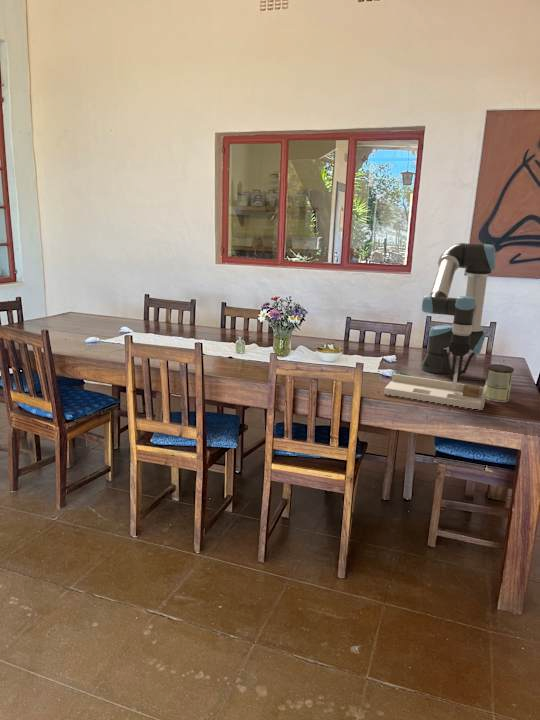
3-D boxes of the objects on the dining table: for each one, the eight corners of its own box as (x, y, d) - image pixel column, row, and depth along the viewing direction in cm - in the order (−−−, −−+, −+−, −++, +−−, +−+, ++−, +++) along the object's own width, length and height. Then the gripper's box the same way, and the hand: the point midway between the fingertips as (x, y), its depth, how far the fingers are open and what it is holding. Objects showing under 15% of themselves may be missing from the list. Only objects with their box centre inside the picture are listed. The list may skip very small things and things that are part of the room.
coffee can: (479, 394, 232) (483, 363, 228) (502, 395, 232) (506, 364, 229) (489, 402, 222) (494, 370, 218) (513, 402, 222) (518, 370, 219)
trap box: (391, 386, 239) (393, 371, 237) (485, 401, 223) (487, 385, 221) (384, 394, 226) (385, 379, 224) (482, 411, 210) (485, 394, 208)
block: (463, 392, 223) (464, 383, 222) (478, 395, 221) (479, 385, 220) (462, 395, 219) (463, 386, 218) (477, 398, 216) (479, 388, 215)
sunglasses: (393, 377, 254) (395, 368, 253) (424, 386, 248) (426, 376, 246) (386, 384, 242) (388, 374, 240) (418, 393, 236) (420, 383, 234)
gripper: (443, 333, 216) (437, 388, 222) (477, 337, 211) (469, 392, 217) (445, 330, 223) (439, 383, 229) (478, 334, 218) (470, 388, 224)
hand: (454, 388), depth 223 cm, fingers closed
